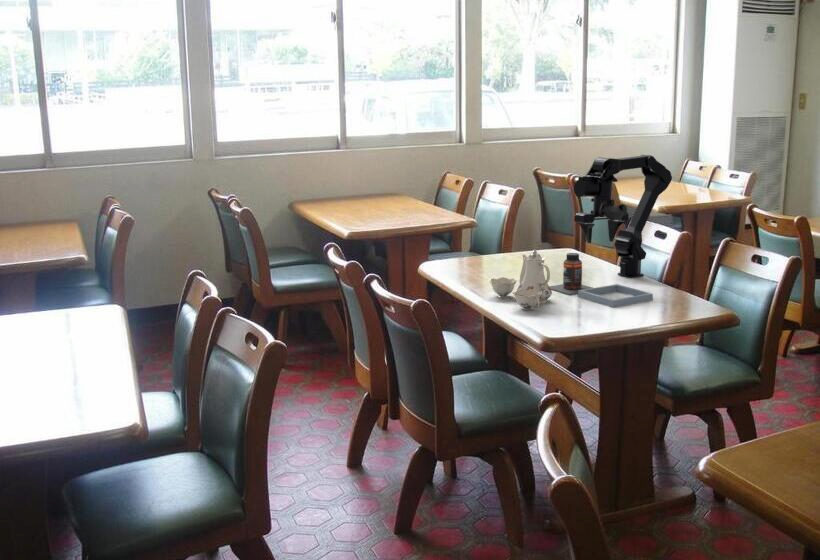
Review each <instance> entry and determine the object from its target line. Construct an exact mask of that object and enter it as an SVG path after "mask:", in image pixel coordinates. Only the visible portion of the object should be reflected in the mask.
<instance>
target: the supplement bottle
mask: <svg viewBox="0 0 820 560" xmlns="http://www.w3.org/2000/svg"><path fill="white" fill-rule="evenodd" d="M562 264H563V269H562V270H563V271H562V274H563V275H562V276H563V277H562V278H563V279H562V280H563V281H562V282H563V283H562V284H563V287H564V288H566V289H580V288H581V287H582V285H583V262H582V260H580V254H579V253H577V252H567V253H566V258H565V260H563V263H562Z"/></svg>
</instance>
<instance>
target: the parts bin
mask: <svg viewBox="0 0 820 560" xmlns="http://www.w3.org/2000/svg"><path fill="white" fill-rule="evenodd" d="M613 292H619V293H622V294H626V295H629V296H626V297H622V298H615V299H612V298H609V297H606V296H602V294H608V293H613ZM577 297H578V298H580V299H584V300H587V301H591V302H594V303H598V304H602V305H604V306H608V307H611V308H616V307H617V308H618V307H620V306H622V307H623V306H626V305H627V306H628V305H632V304H638V303H644V302H650V301H653V300H654V293H651V292H648V291H645V290H641V289H637V288H633V287H629V286H626V285H621V284H618V283H615V284H611V285H610V284H608V285H603V286H597V287H593V288H590V289H584V290H578V294H577Z"/></svg>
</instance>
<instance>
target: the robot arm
mask: <svg viewBox="0 0 820 560" xmlns="http://www.w3.org/2000/svg"><path fill="white" fill-rule="evenodd" d="M633 169H640V170H641V173H642V175H643V176H644V181H643V186H644V191H643V194H642V196H641V197H640V200H639V202H638V204H637V206H636V208H635V210H634V213H633V215H632V217H631V220H630V221H629V218H630V217H629V213H628V206H627V205H625V204H620V205H616V204H615V198H614V199H613V198H612V193H613V183H617V182H618V181H619V180H618V179H617V178H616V176H615V175H618V174H619V173H620V172H622V171H626V170H633ZM672 180H673V176H672V172H671V171H670V170H669V169H668V168H667V167H666V166H665V165H664V164H662V163H660V161H658V160H657V159H656V158H655V157H654V156H653V155H650V154H641V155H635V156H630V157H629V156H628V157H621V158H620V157H619V158H613V157H612V158H611V157H603V156H602V157H598V156H597V157H596V158H594V160H593V163H592V165H591V166H590V168H589V169H588V171H587V172H586V174H585V176H583V175H578V178H577V180H576V181H575V183H574V185H573V193H574V195H575V196H576V197H577V198H589V197H591V199H590V200H591V202H593V204H592V206H593V207H592V209H593V210H590V212H576V214H574V217H573V218H574V222H576V223H577V224H578V225H580V228H581V230H582V232H583V234H584V237H585V240H586V243H587V244H592V238H593V237H592V236H593V228H594V226H595V224H596V223H594V221H599V220H607V229H608V239H609V242H611V243H612V242H613V241H614V240H615V241H614V244H613V245H614V248H615V251H616V255H617V257H619V258H621V259H620V267H619V272H617V275H618V276H623V277H626V278H637V277H643V276H644V275H645V273H641V270H642V269H641V267H642V260H645V259H646V257H647V252H646V250H645V249H644V248H643V247H642V244H643V235H642V233H643V230H644V229H645V227H646V224H647V223H648V220H649V217H650V215H651V213H652V210H653V209H654V206H655V204H656V202H657V199H658V198H659V196H660V195H661V194H662V193H663V192H665V191H666V190H667V188H668V187H669V185H670V184H671V182H672ZM626 221H629V224H628V226H627V227H626V228H625V229H622V228H621V229H619V228H620V226H621V225H623V224H625V223H626ZM618 229H619V230H618ZM617 232H618V233H617ZM616 234H617V236H616Z"/></svg>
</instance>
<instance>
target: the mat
mask: <svg viewBox="0 0 820 560" xmlns="http://www.w3.org/2000/svg"><path fill="white" fill-rule="evenodd" d="M548 286H549V287H550V289H551V291H554V292H558V293H561V294H563V295H567V296H572V295H573V294H574V295H578V290H584V289H590V288H594V287H591V286H589V285H585V284H582V287H581V288H580V289H566V288H564V287H563V283H561V284H555V285H548Z"/></svg>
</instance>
